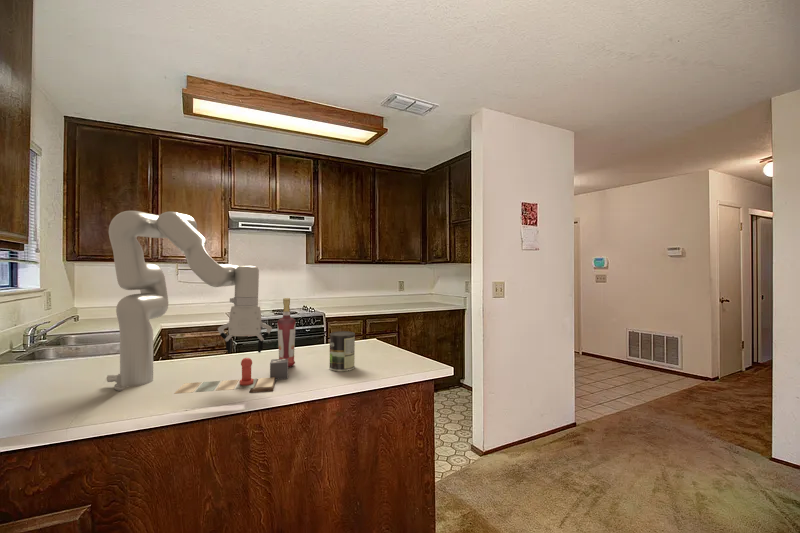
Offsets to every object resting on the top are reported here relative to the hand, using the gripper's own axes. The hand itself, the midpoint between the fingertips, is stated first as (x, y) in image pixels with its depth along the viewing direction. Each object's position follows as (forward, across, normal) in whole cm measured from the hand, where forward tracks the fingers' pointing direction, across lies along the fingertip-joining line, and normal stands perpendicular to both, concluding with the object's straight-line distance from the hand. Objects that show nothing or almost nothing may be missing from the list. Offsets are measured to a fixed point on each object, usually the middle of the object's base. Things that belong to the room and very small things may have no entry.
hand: (244, 352), depth 131 cm
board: (+12, -5, 0) cm, 13 cm away
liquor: (+12, +13, +25) cm, 30 cm away
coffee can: (+11, +35, +17) cm, 40 cm away
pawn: (+11, +1, 0) cm, 11 cm away
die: (+12, +11, +10) cm, 19 cm away
